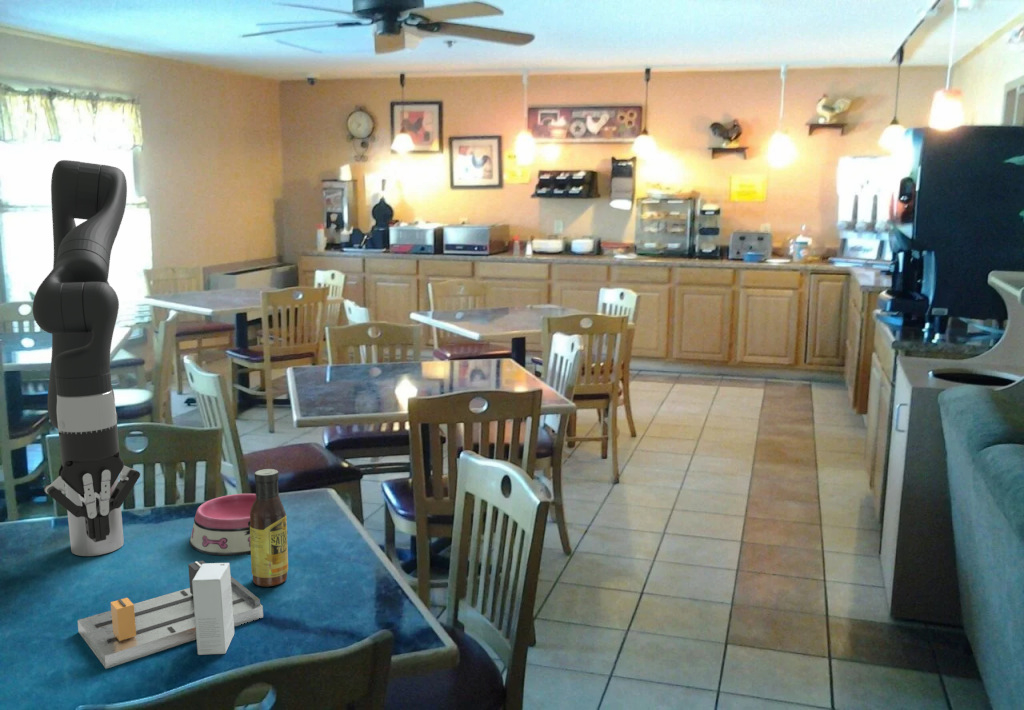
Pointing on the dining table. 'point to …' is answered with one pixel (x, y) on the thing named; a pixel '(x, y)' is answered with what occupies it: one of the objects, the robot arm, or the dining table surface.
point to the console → (159, 625)
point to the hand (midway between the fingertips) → (98, 539)
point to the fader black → (194, 572)
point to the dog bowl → (223, 526)
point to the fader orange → (123, 619)
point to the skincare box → (213, 608)
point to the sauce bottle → (268, 532)
